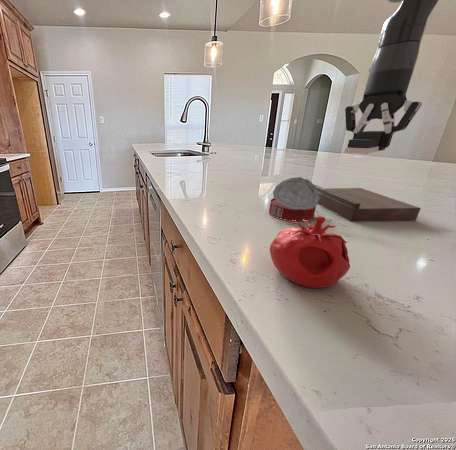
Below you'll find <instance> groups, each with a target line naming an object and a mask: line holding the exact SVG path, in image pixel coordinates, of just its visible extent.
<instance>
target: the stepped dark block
mask: <svg viewBox="0 0 456 450" xmlns="http://www.w3.org/2000/svg"><path fill="white" fill-rule="evenodd" d="M383 134H385V132H384V130H364V131H363V132H357V136H356V139H353V138H351V139H349V140H348V142H347V147H345V148H344V150H343V151H344V152H343V153H345V154H359V155H361V154H362V155H369V154H373V153H377V152H382V151H383V150H378V149H379V145H380V142H381V138H382V135H383ZM386 149H387V148H385V150H386Z"/></svg>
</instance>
